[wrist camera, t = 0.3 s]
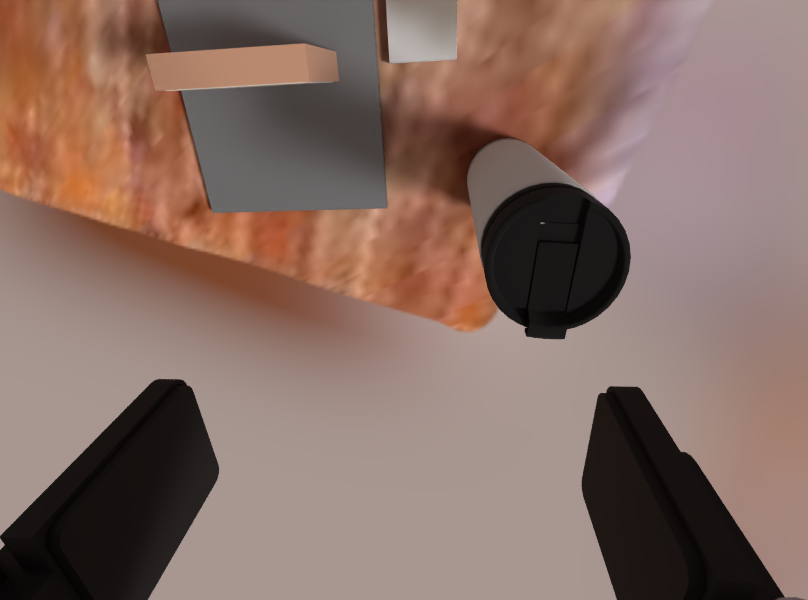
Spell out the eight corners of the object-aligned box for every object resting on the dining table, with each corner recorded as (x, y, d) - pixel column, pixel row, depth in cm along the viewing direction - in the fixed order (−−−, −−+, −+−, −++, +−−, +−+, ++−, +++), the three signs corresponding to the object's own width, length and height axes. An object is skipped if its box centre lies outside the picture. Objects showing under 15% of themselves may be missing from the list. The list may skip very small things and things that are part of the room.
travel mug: (462, 216, 38) (476, 337, 20) (470, 136, 35) (494, 194, 17) (535, 219, 37) (615, 347, 19) (549, 139, 34) (659, 202, 16)
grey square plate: (162, 1, 32) (157, 0, 32) (372, -16, 31) (370, -17, 30) (215, 211, 39) (212, 212, 39) (387, 206, 38) (386, 208, 37)
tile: (210, 59, 33) (145, 54, 26) (336, 51, 32) (304, 43, 25) (216, 89, 34) (155, 91, 27) (339, 82, 33) (309, 82, 26)
